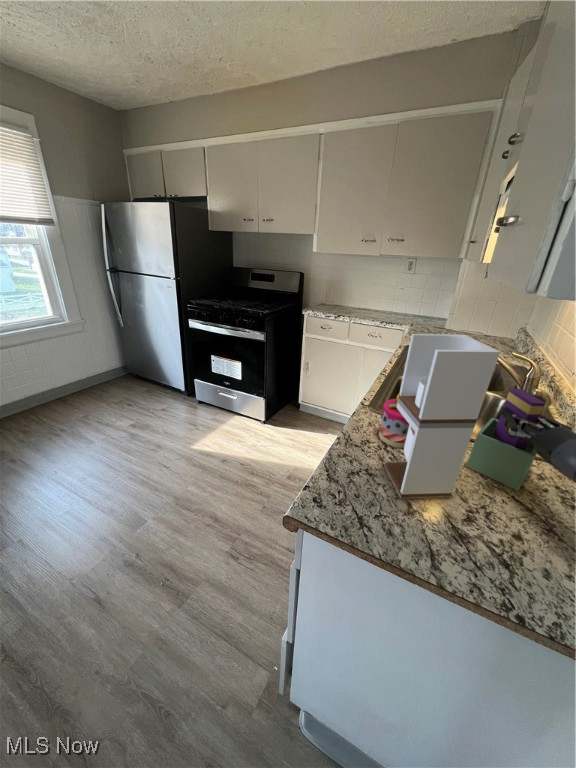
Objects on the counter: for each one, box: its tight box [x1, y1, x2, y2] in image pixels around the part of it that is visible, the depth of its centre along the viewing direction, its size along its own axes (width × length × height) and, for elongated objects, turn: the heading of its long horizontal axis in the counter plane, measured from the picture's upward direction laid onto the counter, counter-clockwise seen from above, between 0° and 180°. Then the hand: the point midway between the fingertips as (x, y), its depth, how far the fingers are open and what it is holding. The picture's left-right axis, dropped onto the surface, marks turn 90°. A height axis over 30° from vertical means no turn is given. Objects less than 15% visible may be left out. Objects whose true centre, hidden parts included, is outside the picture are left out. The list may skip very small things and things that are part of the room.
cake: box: [378, 393, 409, 449], centre depth 87 cm, size 10×11×15 cm
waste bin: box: [466, 417, 538, 492], centre depth 77 cm, size 11×11×11 cm
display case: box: [383, 333, 501, 500], centre depth 67 cm, size 11×11×35 cm
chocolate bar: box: [493, 388, 546, 451], centre depth 73 cm, size 3×7×13 cm, turn 3°
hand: (509, 410), depth 75 cm, fingers closed on chocolate bar, 3 cm apart
